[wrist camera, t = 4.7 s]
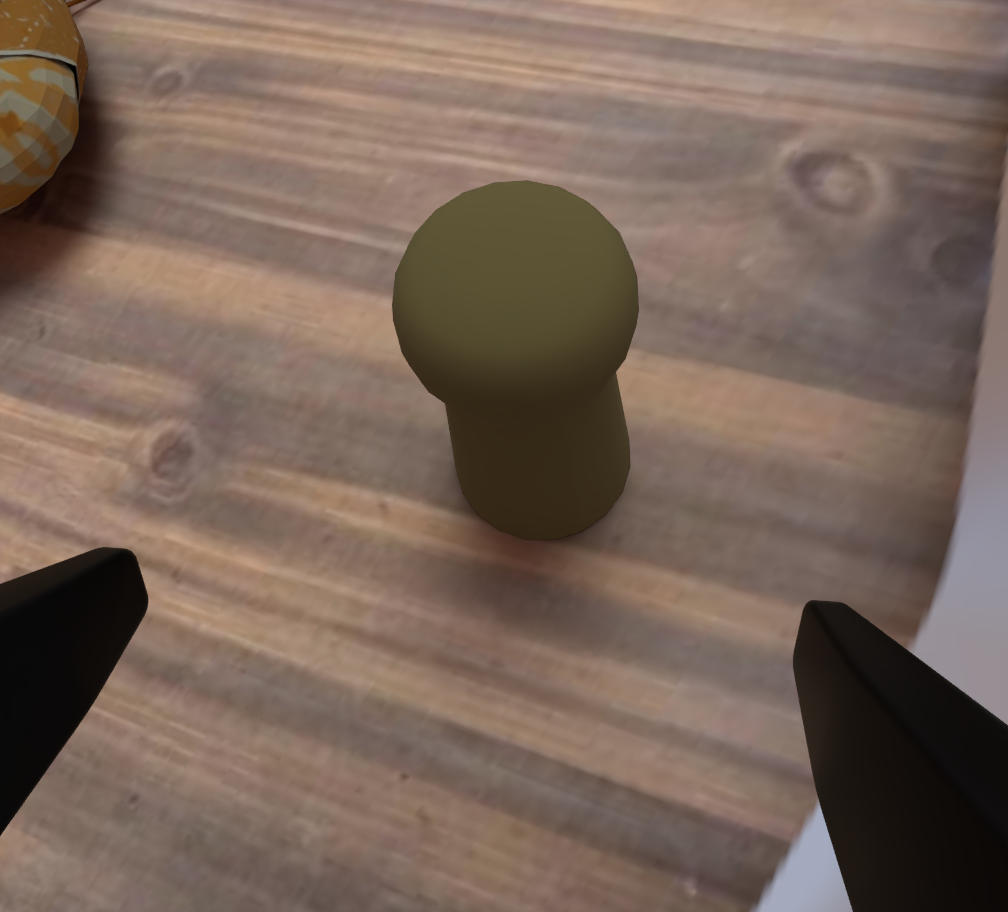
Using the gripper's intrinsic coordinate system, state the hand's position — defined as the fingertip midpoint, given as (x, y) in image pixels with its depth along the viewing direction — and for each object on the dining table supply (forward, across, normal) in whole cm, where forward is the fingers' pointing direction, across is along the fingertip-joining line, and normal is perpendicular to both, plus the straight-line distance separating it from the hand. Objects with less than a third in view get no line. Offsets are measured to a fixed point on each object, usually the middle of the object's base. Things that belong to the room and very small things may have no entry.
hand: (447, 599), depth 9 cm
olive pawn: (+14, 0, +4) cm, 14 cm away
